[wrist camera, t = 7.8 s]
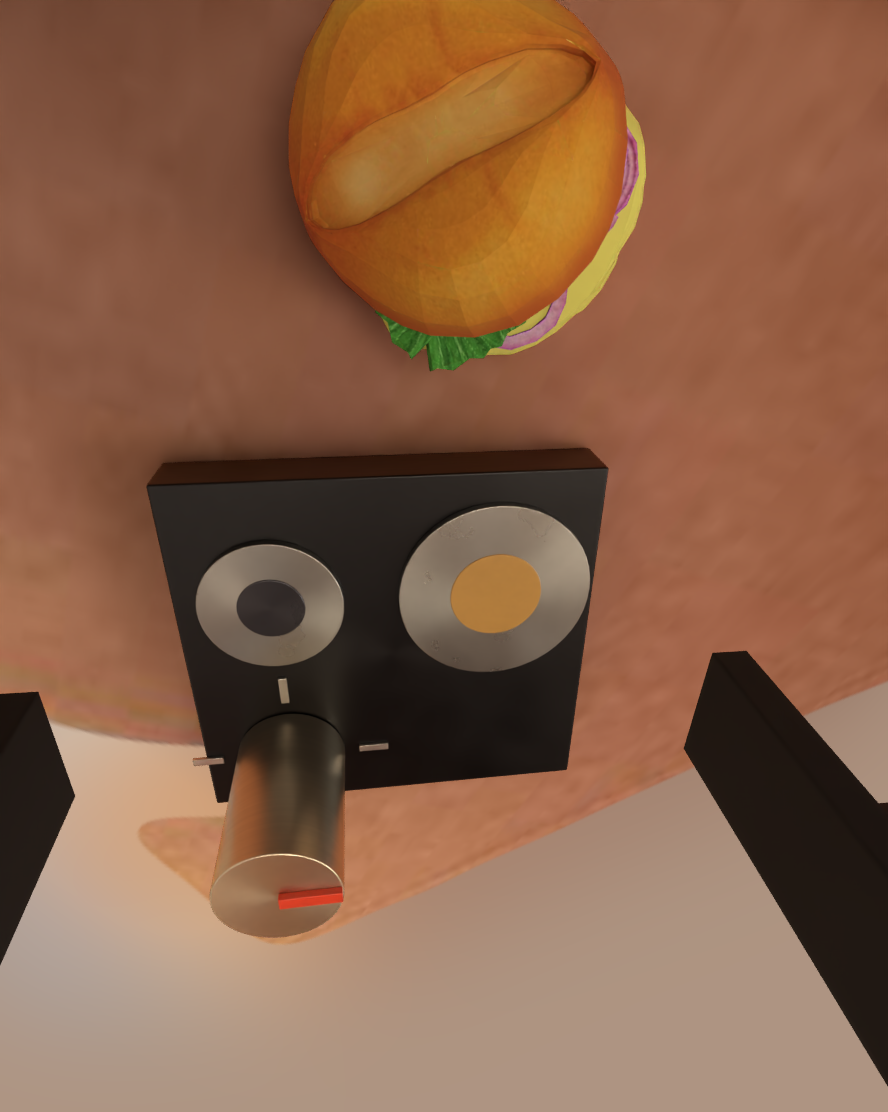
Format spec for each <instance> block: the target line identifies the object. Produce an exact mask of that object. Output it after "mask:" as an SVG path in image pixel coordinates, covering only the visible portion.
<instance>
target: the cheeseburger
mask: <svg viewBox="0 0 888 1112" xmlns="http://www.w3.org/2000/svg"><path fill="white" fill-rule="evenodd" d="M289 170H290V175H291V180H292V185H293V190H294V195H295V198H296V202H297V205H298V208H299V211H300V214H301V216H302V219H303V222H304V225H305V227H306V230H307V233H308V235H309V237H310V239H311V241H312V242H313V244H314V246H315V247H316V248H317V250H318V251H319V252H320V254H321V255H322V256H323V257H324V259H325V260H326V261H327V262H328V264H329V265H330V266H331V267H332V269H333V270H334V271H335V272H336V274H337V275H338V276H339V277H340V278H341V280H342V281H343V282H344V283H345V284H346V285H348V286H349V287H350V288H351V289H352V290H353V291H354V292H356V293H357V294H358V295H359V296H360V297H361V298H362V299H363V300H365V301H366V302H367V303H368V304H369V305H370V306H371V307H373V308H374V309H375V313H376V314H378V315H379V316H380V317H381V318H382V319H383V321H384V323H385V325H386V327H387V329H388V331H389V332H390V335H391V340H392V343H394V344H395V345H397V346H399V347H400V348H402V349H403V350H405V351H407V352H408V353H409V356H410V358H411V359H412V358H413V357H414V356H415V355H416V354H417V353H418V352H419V351H420V350H421V349H427V355H428V362H429V368H430V371H433V370H435V369H437V368H439V369H447V370H455V369H456V368H458V367H459V366H460V365H462V364H463V363H464V362H465V361H467V360H468V359H469V358H484V357H485V356H486V355H504V354H514V353H517V352H519V351H522V350H524V349H527V348H530V347H532V346H535V345H537V344H538V343H540V342H541V341H543V340H544V339H546V338H547V337H549V336H550V335H552V334H553V333H555V332H556V331H558V330H559V329H560V328H561V327H562V326H563V325H564V324H565V323H566V322H567V321H568V320H570V319H571V318H572V317H573V316H574V315H575V314H577V313H579V312H581V311H582V310H584V309H585V307H586V306H587V305H588V304H589V303H590V302H591V301H592V299H593V298H594V297H595V296H596V295H597V294H598V293H599V292H600V291H601V289H602V287H603V286H604V284H605V282H606V280H607V279H608V277H609V275H610V273H611V272H612V270H613V268H614V266H615V265H616V262H617V258H618V254H619V252H620V250H621V249H622V247H623V246H624V244H625V242H626V241H627V239H628V238H629V236H630V234H631V233H632V231H633V229H634V228H635V224H636V221H637V218H638V215H639V211H640V208H641V205H642V202H643V188H644V183H645V178H646V165H645V148H644V141H643V137H642V133H641V129H640V124H639V123H638V121H637V120H636V119H635V117H634V116H633V115H632V113H631V112H630V110H629V109H628V108H627V106H626V105H625V96H624V88H623V84H622V80H621V76H620V74H619V72H618V70H617V68H616V66H615V64H614V63H613V61H612V60H611V59H610V57H609V56H608V54H607V53H606V52H605V50H604V49H603V48H602V47H601V45H600V44H599V43H598V42H597V40H596V39H595V38H594V37H593V35H592V34H591V33H590V32H589V30H588V29H587V28H586V26H585V25H584V24H583V23H582V22H581V21H580V20H579V19H578V18H577V17H576V16H575V15H574V14H573V13H571V12H570V11H569V10H567V9H566V8H564V7H563V6H562V5H560V4H559V3H558V2H556V1H555V0H334V1H333V2H332V3H331V5H330V7H329V9H328V11H327V12H326V14H325V16H324V18H323V20H322V22H321V23H320V25H319V27H318V29H317V31H316V33H315V34H314V36H313V38H312V40H311V42H310V43H309V45H308V47H307V49H306V51H305V54H304V58H303V61H302V65H301V68H300V72H299V75H298V79H297V82H296V86H295V91H294V96H293V102H292V108H291V113H290V119H289Z"/></svg>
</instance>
